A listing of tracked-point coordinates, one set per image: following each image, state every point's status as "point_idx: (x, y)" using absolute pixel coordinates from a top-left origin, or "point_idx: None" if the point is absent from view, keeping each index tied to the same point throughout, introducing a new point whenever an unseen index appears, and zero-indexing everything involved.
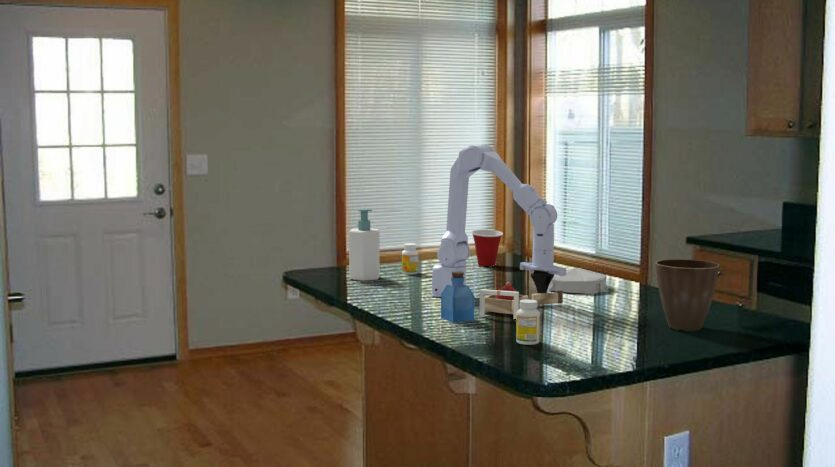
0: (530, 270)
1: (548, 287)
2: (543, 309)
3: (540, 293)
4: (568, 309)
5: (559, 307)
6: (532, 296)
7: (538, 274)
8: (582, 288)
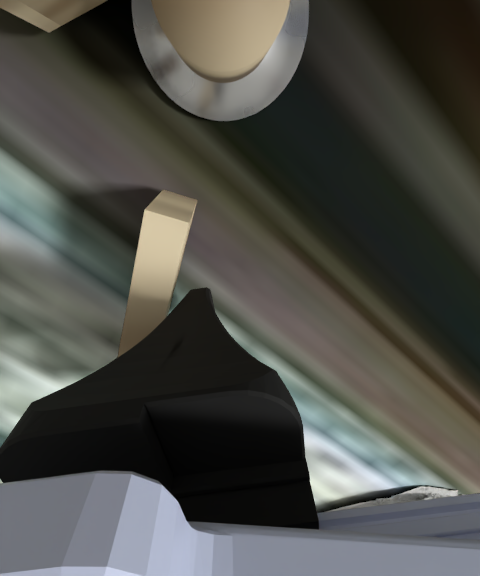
0: (412, 502)
1: None
2: (60, 192)
3: (164, 299)
4: (4, 321)
5: (81, 318)
6: (171, 210)
7: (75, 430)
8: None
